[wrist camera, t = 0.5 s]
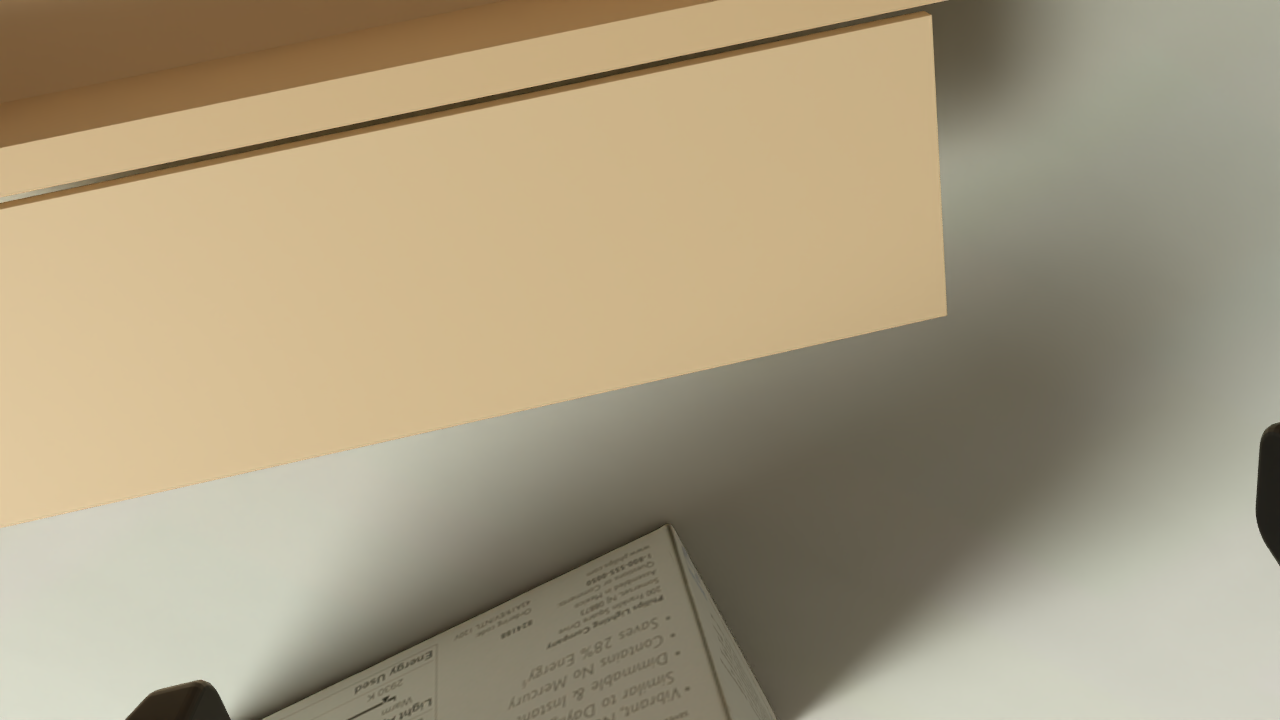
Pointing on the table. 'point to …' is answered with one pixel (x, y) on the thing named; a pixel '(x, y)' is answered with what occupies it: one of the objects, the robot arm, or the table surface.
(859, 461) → the table surface
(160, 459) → the carton
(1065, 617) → the table surface
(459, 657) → the light bulb box
